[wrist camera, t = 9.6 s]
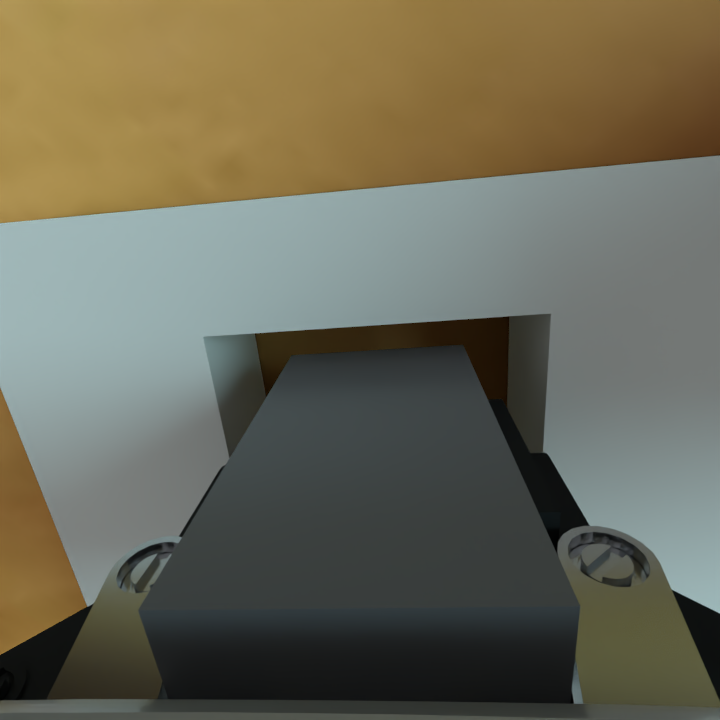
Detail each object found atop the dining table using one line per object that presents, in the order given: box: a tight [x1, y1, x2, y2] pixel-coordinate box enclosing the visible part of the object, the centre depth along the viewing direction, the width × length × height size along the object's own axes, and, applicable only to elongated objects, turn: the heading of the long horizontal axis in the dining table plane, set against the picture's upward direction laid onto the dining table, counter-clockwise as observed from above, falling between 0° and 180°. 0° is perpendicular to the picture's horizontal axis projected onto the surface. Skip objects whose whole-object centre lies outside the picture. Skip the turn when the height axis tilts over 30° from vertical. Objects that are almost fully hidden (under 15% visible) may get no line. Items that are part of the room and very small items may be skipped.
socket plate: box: [0, 155, 720, 613], centre depth 13 cm, size 18×18×4 cm
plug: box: [138, 345, 580, 704], centre depth 8 cm, size 5×4×8 cm
